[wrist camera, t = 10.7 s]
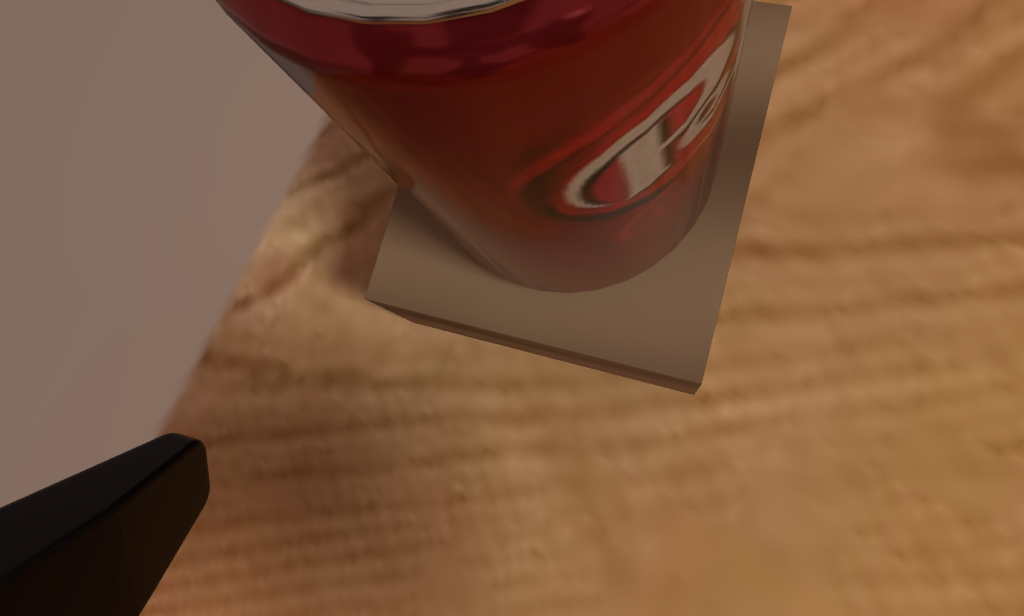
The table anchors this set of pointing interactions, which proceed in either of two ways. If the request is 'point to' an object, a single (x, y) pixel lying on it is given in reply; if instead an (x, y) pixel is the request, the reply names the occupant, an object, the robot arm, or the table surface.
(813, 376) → the table surface
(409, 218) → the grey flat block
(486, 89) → the soda can
